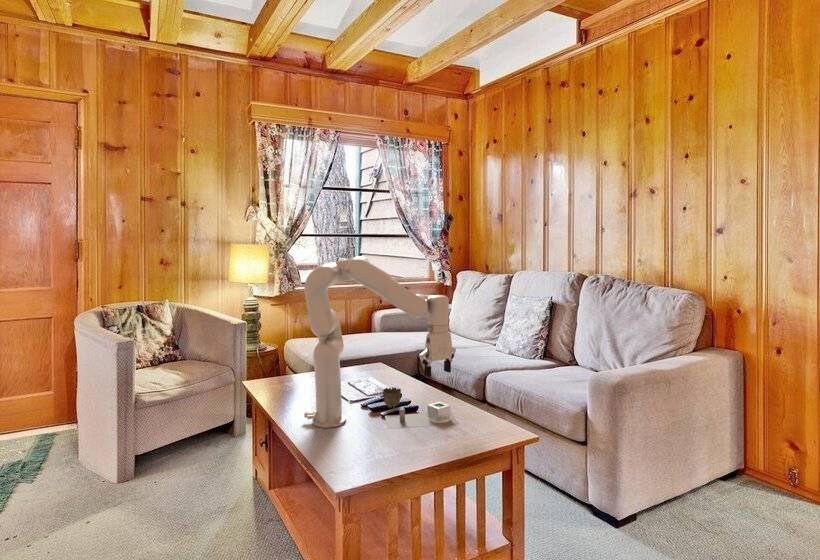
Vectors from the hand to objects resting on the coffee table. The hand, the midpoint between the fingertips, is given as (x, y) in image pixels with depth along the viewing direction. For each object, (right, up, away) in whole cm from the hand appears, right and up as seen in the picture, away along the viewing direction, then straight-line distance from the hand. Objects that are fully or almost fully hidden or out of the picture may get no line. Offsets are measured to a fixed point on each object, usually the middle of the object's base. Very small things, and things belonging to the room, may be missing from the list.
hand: (437, 373), depth 190 cm
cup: (-18, -17, +16) cm, 30 cm away
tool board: (-6, -19, +1) cm, 20 cm away
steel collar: (+1, -17, +2) cm, 17 cm away
